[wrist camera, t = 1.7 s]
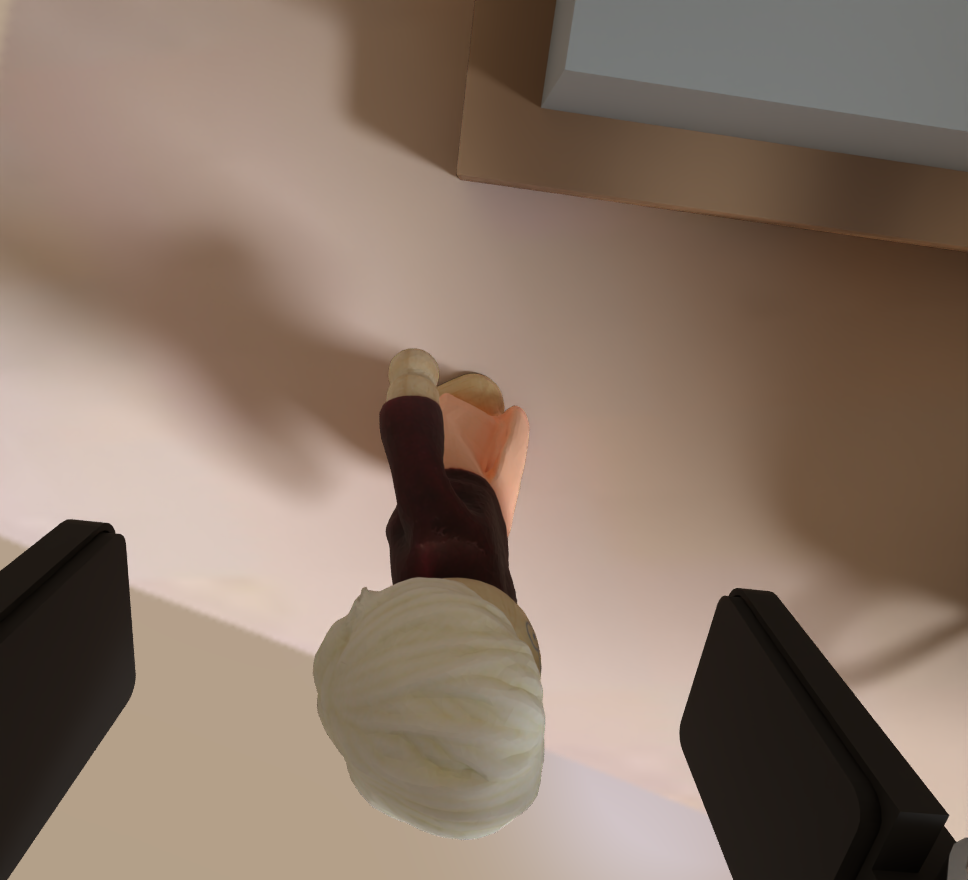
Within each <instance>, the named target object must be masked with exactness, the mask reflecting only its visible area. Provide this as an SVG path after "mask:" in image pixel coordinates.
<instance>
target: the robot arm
mask: <svg viewBox="0 0 968 880" xmlns="http://www.w3.org/2000/svg"><path fill="white" fill-rule="evenodd" d="M135 676H136V673H135V660H134V648H133V633H132V620H131V607H130V592H129V579H128V565H127V552H126V542H125V538H124V536H123V535H121V534H115V530H114V528H113V526H112V525H110V524H109V523H102V522H92V521H83V520H73V519H70V520H65V521H64V522H62V523H60V524H59V525H58V526H57V527H55V528H54V529H53V530H52V531H50V532H49V533H48V534H46V535H45V536H44V537H43V538H41V539H40V540H39V541H38V542H36V543H35V544H34V545H33V546H31V547H30V548H29V549H28V550H26V551H25V552H24V553H22V554H21V555H20V556H19V557H17V558H16V559H15V560H14V561H12V562H11V563H10V564H9V565H7V566H6V567H5V568H3V569H2V570H1V571H0V880H7V879H8V878H9V876H10V875H11V873H12V872H13V870H14V869H15V868H16V866H17V864H18V863H19V862H20V860H21V859H22V857H23V856H24V854H25V853H26V851H27V850H28V848H29V847H30V845H31V844H32V843H33V841H34V840H35V838H36V836H37V835H38V834H39V832H40V831H41V829H42V828H43V826H44V825H45V823H46V822H47V820H48V819H49V817H50V816H51V815H52V813H53V812H54V810H55V809H56V807H57V806H58V804H59V803H60V801H61V800H62V798H63V797H64V795H65V794H66V792H67V791H68V789H69V788H70V786H71V785H72V783H73V782H74V781H75V779H76V778H77V776H78V775H79V773H80V772H81V770H82V769H83V767H84V766H85V764H86V763H87V761H88V760H89V759H90V757H91V756H92V754H93V753H94V751H95V750H96V748H97V747H98V745H99V744H100V742H101V741H102V739H103V738H104V736H105V735H106V733H107V732H108V731H109V729H110V728H111V726H112V725H113V723H114V722H115V720H116V719H117V717H118V716H119V714H120V713H121V711H122V710H123V708H124V707H125V705H126V704H127V702H128V701H129V699H130V697H131V695H132V692H133V689H134V685H135V678H136V677H135ZM679 733H680V743H681V747H682V750H683V753H684V755H685V758H686V760H687V763H688V766H689V768H690V771H691V773H692V776H693V778H694V781H695V783H696V786H697V788H698V791H699V794H700V796H701V799H702V801H703V804H704V806H705V809H706V811H707V814H708V817H709V819H710V822H711V824H712V826H713V829H714V832H715V834H716V837H717V839H718V842H719V845H720V847H721V850H722V852H723V855H724V857H725V860H726V862H727V865H728V868H729V870H730V873H731V875H732V878H733V880H968V838H964V839H962V840H960V841H958V842H956V841H955V840H954V838H953V837H952V836H951V834H950V833H949V832H948V830H947V829H946V828H945V827H944V825H945V823H946V821H947V819H948V817H949V814H948V813H947V812H946V811H945V809H944V808H943V807H942V806H941V804H940V803H939V802H938V800H937V799H936V798H935V797H934V795H933V794H932V793H931V792H930V790H929V789H928V788H927V786H926V785H925V784H924V783H923V781H922V780H921V779H920V777H919V776H918V775H917V774H916V772H915V771H914V770H913V769H912V767H911V766H910V765H909V763H908V762H907V761H906V760H905V758H904V757H903V756H902V755H901V753H900V752H899V751H898V749H897V748H896V747H895V746H894V744H893V743H892V742H891V741H890V739H889V738H888V737H887V735H886V734H885V733H884V732H883V730H882V729H881V728H880V727H879V725H878V724H877V723H876V721H875V720H874V719H873V718H872V716H871V715H870V714H869V713H868V711H867V710H866V709H865V707H864V706H863V705H862V704H861V702H860V701H859V700H858V699H857V697H856V696H855V695H854V693H853V692H852V691H851V690H850V688H849V687H848V686H847V684H846V683H845V682H844V681H843V679H842V678H841V677H840V676H839V674H838V673H837V672H836V670H835V669H834V668H833V667H832V665H831V664H830V663H829V662H828V660H827V659H826V658H825V656H824V655H823V654H822V653H821V651H820V650H819V649H818V648H817V646H816V645H815V644H814V642H813V641H812V640H811V639H810V637H809V636H808V635H807V634H806V632H805V631H804V630H803V628H802V627H801V626H800V625H799V623H798V622H797V621H796V620H795V618H794V617H793V616H792V614H791V613H790V612H789V611H788V609H787V608H786V607H785V605H784V604H783V603H782V602H781V600H780V599H779V598H778V597H777V596H776V595H775V594H774V593H773V592H770V591H762V590H752V589H742V588H736V589H733V590H732V592H731V593H730V594H729V596H723V597H721V599H720V600H719V602H718V604H717V608H716V611H715V614H714V617H713V620H712V624H711V627H710V630H709V633H708V636H707V640H706V643H705V646H704V649H703V652H702V656H701V659H700V662H699V665H698V668H697V672H696V675H695V678H694V681H693V685H692V688H691V691H690V694H689V697H688V701H687V704H686V707H685V710H684V713H683V717H682V720H681V724H680V732H679Z"/></svg>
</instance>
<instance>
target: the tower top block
mask: <svg viewBox="0 0 968 880" xmlns="http://www.w3.org/2000/svg"><path fill="white" fill-rule="evenodd" d="M541 108H545V109H552V110H559V111H565V112H572V113H579V114H585V115H592V116H599V117H605V118H612V119H619V120H625V121H632V122H639V123H645V124H652V125H659V126H665V127H672V128H678V129H685V130H692V131H698V132H705V133H712V134H718V135H725V136H732V137H738V138H745V139H752V140H758V141H765V142H772V143H778V144H785V145H792V146H798V147H805V148H812V149H818V150H825V151H832V152H838V153H845V154H852V155H858V156H865V157H872V158H878V159H885V160H892V161H898V162H905V163H912V164H918V165H925V166H932V167H938V168H945V169H952V170H958V171H965V172H968V0H556V7H555V14H554V21H553V27H552V34H551V41H550V48H549V55H548V62H547V68H546V75H545V82H544V89H543V96H542V103H541Z"/></svg>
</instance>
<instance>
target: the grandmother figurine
mask: <svg viewBox="0 0 968 880" xmlns="http://www.w3.org/2000/svg"><path fill="white" fill-rule="evenodd" d="M388 379H389V383H390V386H389V388H388V391H387V397H386V403H385V404H384V405H383V407H382V409H381V411H380V433H381V439H382V442H383V445H384V448H385V452H386V455H387V458H388V462H389V465H390V469H391V473H392V478H393V483H394V489H395V494H396V500H397V506H396V508H395V510H394V511H393V513H392V515H391V517H390V519H389V522H388V524H387V527H386V536H387V540H388V543H389V547H390V563H391V576H392V582H393V585H392V586H390V587H388V588H386V589H384V590H382V591H371V590H367V587H364V588H363V589H362V590H361V595H360V596H359V597H358V598H357V599H356V600H355V601H354V603H353V606H352V608H351V610H350V612H349V614H348V615H347V616H345V617H343V618H342V619H340V620H338V621H336V622H335V623H334V624H333V625H332V626H331V628H330V629H329V631H328V632H327V634H326V636H325V638H324V640H323V642H322V644H321V646H320V647H319V649H318V651H317V653H316V655H315V659H314V665H313V676H314V682H315V685H316V689H317V692H318V698H317V709H318V714H319V717H320V719H321V722H322V724H323V726H324V729H325V731H326V733H327V735H328V736H329V738H330V739H331V740H332V742H333V743H334V745H335V746H336V748H337V749H338V750H339V752H340V753H341V754H342V755H343V757H344V759H345V761H346V764H347V769H348V772H349V774H350V778H351V780H352V782H353V784H354V785H355V786H356V788H357V789H358V791H359V793H360V794H361V795H362V796H363V797H364V799H365V800H366V801H367V802H368V803H369V804H370V805H371V806H372V807H373V808H375V809H377V810H379V811H381V812H382V813H384V814H386V815H388V816H390V817H392V818H394V819H397V820H399V821H402V822H405V823H407V824H409V825H412V826H414V827H415V828H417V829H420V830H422V831H424V832H427V833H430V834H433V835H436V836H440V837H445V838H451V839H460V840H469V839H478V838H481V837H485V836H487V835H490V834H493V833H496V832H497V831H499V830H500V829H501V828H503V827H504V826H506V825H507V824H509V823H510V822H511V821H512V820H514V819H515V818H516V817H517V816H519V815H520V814H522V813H523V812H524V811H526V810H527V809H528V808H529V807H530V806H531V804H532V803H533V802H534V800H535V798H536V796H537V794H538V790H539V786H540V781H541V772H542V766H543V762H544V731H545V713H544V708H543V703H542V698H543V688H542V685H541V682H540V678H541V655H540V650H539V645H538V641H537V638H536V634H535V632H534V630H533V628H532V625H531V623H530V621H529V620H528V618H527V616H526V614H525V613H524V612H523V610H522V609H521V608H520V607H519V606H518V605H517V599H516V592H515V589H514V585H513V581H512V578H511V575H510V571H509V568H508V567H509V562H508V556H509V552H508V536H509V533H510V530H511V526H512V520H513V514H514V510H515V506H516V502H517V497H518V493H519V490H520V482H521V478H522V474H523V470H524V465H525V460H526V454H527V448H528V440H529V422H528V419H527V416H526V414H525V412H524V411H523V409H522V408H520V407H518V406H512V407H511V408H509V409H507V410H506V411H505V412H504V401H503V397H502V394H501V391H500V390H499V388H498V386H497V385H496V384H495V383H494V382H493V381H492V380H491V379H489V378H488V377H486V376H484V375H480V374H466V375H463V376H460V377H458V378H455V379H453V380H451V381H448V382H446V383H444V384H442V385H440V386H437V383H438V380H439V369H438V365H437V363H436V361H435V360H434V358H433V357H432V356H431V355H430V354H429V353H427V352H425V351H423V350H420V349H406V350H403V351H401V352H400V353H398V354H397V355H396V356H395V357H394V358H393V359H392V360H391V363H390V366H389V373H388ZM436 386H437V387H436Z"/></svg>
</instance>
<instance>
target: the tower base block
mask: <svg viewBox="0 0 968 880" xmlns="http://www.w3.org/2000/svg"><path fill="white" fill-rule="evenodd" d="M555 7H556V0H475V5H474V14H473V23H472V33H471V42H470V51H469V60H468V70H467V79H466V88H465V97H464V107H463V116H462V125H461V135H460V144H459V153H458V162H457V172H456V174H457V176H458V177H459V178H460V179H461V180H466V181H473V182H480V183H487V184H494V185H501V186H508V187H515V188H522V189H529V190H536V191H543V192H550V193H557V194H564V195H571V196H578V197H585V198H592V199H599V200H606V201H613V202H620V203H627V204H634V205H641V206H648V207H655V208H662V209H669V210H676V211H683V212H690V213H697V214H704V215H711V216H718V217H725V218H732V219H739V220H746V221H753V222H760V223H767V224H774V225H781V226H788V227H795V228H802V229H809V230H816V231H823V232H830V233H837V234H844V235H851V236H858V237H865V238H872V239H879V240H886V241H893V242H900V243H907V244H914V245H921V246H928V247H935V248H942V249H949V250H956V251H963V252H968V172H965V171H958V170H952V169H945V168H938V167H932V166H925V165H918V164H912V163H905V162H898V161H892V160H885V159H878V158H872V157H865V156H858V155H852V154H845V153H838V152H832V151H825V150H818V149H812V148H805V147H798V146H792V145H785V144H778V143H772V142H765V141H758V140H752V139H745V138H738V137H732V136H725V135H718V134H712V133H705V132H698V131H692V130H685V129H678V128H672V127H665V126H659V125H652V124H645V123H639V122H632V121H625V120H619V119H612V118H605V117H599V116H592V115H585V114H579V113H572V112H565V111H559V110H552V109H545V108H541V103H542V96H543V89H544V82H545V75H546V68H547V62H548V55H549V48H550V41H551V34H552V27H553V21H554V14H555Z"/></svg>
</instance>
